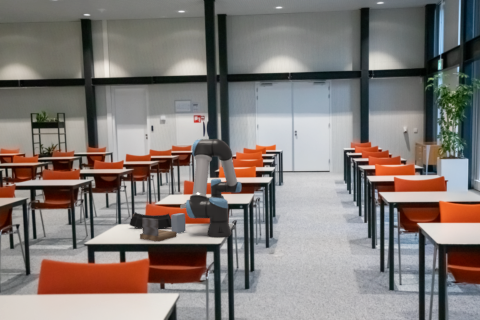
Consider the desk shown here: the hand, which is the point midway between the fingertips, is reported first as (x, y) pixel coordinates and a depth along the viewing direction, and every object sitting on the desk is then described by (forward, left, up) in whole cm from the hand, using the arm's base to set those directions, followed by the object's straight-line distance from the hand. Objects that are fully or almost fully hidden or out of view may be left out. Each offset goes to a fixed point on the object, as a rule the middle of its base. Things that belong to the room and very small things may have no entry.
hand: (188, 207), depth 352 cm
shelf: (-1, +30, -15) cm, 34 cm away
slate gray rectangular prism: (-1, +11, -15) cm, 19 cm away
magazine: (+25, +10, -15) cm, 31 cm away
